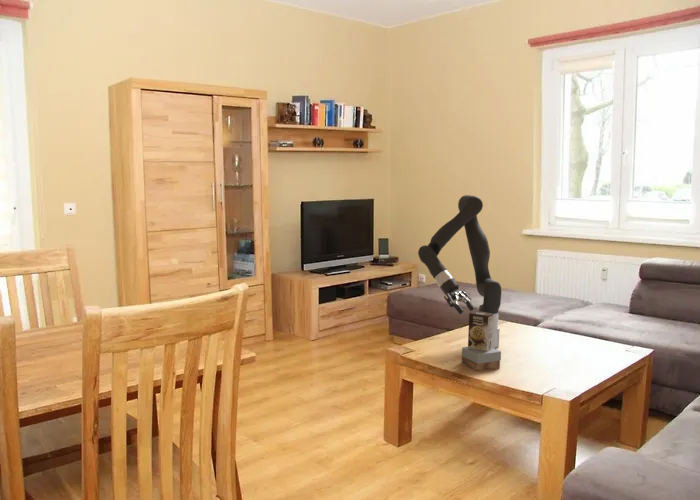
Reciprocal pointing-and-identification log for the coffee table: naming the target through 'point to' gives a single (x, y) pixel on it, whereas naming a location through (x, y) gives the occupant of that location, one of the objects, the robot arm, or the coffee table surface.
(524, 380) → the coffee table surface
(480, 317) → the coffee box
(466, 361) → the base slab
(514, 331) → the coffee table surface
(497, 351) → the top slab
